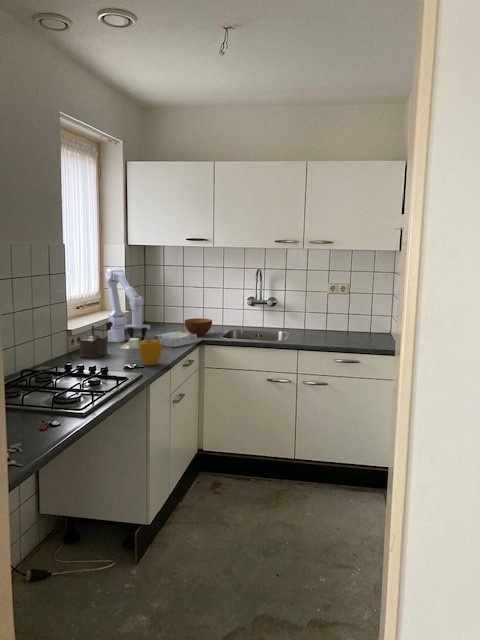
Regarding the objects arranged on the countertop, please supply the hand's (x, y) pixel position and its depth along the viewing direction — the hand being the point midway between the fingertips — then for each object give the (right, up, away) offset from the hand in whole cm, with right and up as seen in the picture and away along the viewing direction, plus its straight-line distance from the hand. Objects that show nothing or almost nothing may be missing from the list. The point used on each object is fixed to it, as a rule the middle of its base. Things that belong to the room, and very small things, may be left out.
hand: (137, 340), depth 311 cm
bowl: (+33, +2, +34) cm, 47 cm away
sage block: (-1, -4, -8) cm, 8 cm away
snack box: (+15, +2, +13) cm, 20 cm away
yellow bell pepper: (+15, -10, -44) cm, 47 cm away
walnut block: (0, -2, +1) cm, 2 cm away
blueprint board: (+1, -3, +2) cm, 4 cm away
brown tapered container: (-17, -7, -23) cm, 30 cm away
